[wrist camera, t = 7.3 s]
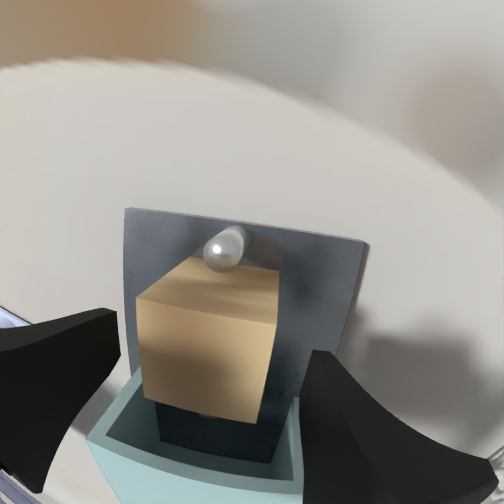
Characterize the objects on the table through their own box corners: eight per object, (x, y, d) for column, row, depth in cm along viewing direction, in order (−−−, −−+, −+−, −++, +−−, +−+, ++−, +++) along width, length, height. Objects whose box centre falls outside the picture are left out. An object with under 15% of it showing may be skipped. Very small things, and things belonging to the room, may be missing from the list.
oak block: (279, 270, 12) (277, 324, 7) (265, 348, 13) (255, 423, 8) (189, 256, 12) (135, 297, 7) (185, 333, 13) (144, 397, 8)
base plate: (287, 468, 16) (285, 504, 12) (146, 439, 16) (130, 470, 13) (361, 240, 12) (389, 259, 8) (130, 207, 12) (86, 215, 9)
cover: (278, 469, 15) (272, 539, 9) (152, 442, 16) (121, 503, 10) (306, 397, 13) (311, 494, 7) (140, 365, 14) (84, 438, 8)
